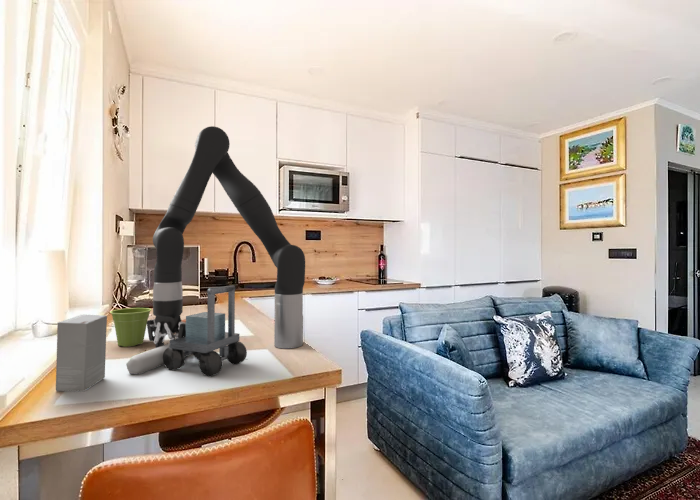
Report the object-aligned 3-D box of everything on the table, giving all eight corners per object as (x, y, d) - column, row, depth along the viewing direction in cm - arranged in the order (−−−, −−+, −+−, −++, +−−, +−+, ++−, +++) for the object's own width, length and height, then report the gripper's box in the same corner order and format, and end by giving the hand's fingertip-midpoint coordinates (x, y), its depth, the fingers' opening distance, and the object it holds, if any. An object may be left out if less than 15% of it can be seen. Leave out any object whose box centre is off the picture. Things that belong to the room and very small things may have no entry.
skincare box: (78, 379, 88) (78, 314, 88) (109, 378, 89) (109, 313, 89) (52, 393, 80) (52, 321, 80) (87, 392, 80) (87, 320, 80)
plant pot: (156, 344, 120) (157, 310, 120) (115, 351, 112) (115, 314, 112) (144, 337, 128) (144, 306, 128) (105, 344, 120) (105, 310, 120)
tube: (140, 362, 90) (207, 337, 114) (124, 353, 91) (194, 331, 115) (135, 381, 91) (202, 353, 114) (119, 372, 92) (189, 346, 116)
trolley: (197, 356, 107) (197, 282, 107) (248, 363, 101) (248, 285, 101) (160, 369, 95) (160, 286, 95) (216, 378, 89) (216, 290, 89)
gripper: (197, 297, 104) (197, 356, 104) (159, 295, 109) (159, 351, 109) (177, 301, 97) (176, 364, 97) (137, 298, 102) (137, 358, 102)
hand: (167, 357), depth 103 cm, fingers open, 5 cm apart
